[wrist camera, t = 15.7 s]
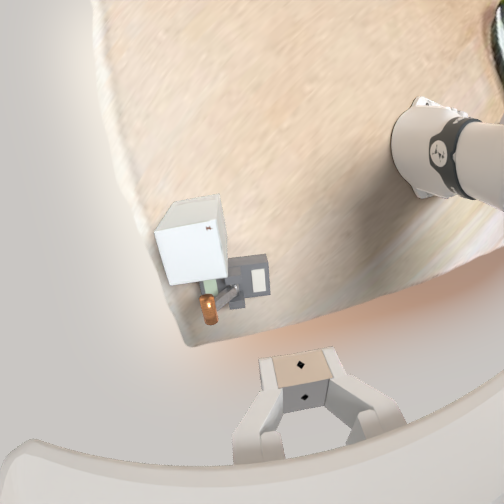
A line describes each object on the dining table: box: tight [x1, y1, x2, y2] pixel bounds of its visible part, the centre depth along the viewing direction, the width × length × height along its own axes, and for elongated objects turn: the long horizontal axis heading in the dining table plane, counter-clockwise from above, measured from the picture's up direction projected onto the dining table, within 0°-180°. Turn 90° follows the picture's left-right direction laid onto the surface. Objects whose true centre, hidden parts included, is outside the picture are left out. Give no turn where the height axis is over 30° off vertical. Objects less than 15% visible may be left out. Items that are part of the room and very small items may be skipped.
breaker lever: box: [199, 284, 240, 325], centre depth 39 cm, size 2×4×8 cm
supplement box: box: [154, 194, 228, 286], centre depth 36 cm, size 7×7×13 cm
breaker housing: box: [199, 254, 270, 309], centre depth 43 cm, size 11×6×6 cm, turn 95°
